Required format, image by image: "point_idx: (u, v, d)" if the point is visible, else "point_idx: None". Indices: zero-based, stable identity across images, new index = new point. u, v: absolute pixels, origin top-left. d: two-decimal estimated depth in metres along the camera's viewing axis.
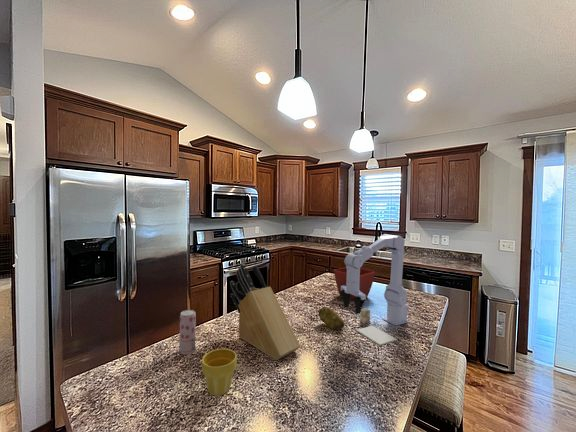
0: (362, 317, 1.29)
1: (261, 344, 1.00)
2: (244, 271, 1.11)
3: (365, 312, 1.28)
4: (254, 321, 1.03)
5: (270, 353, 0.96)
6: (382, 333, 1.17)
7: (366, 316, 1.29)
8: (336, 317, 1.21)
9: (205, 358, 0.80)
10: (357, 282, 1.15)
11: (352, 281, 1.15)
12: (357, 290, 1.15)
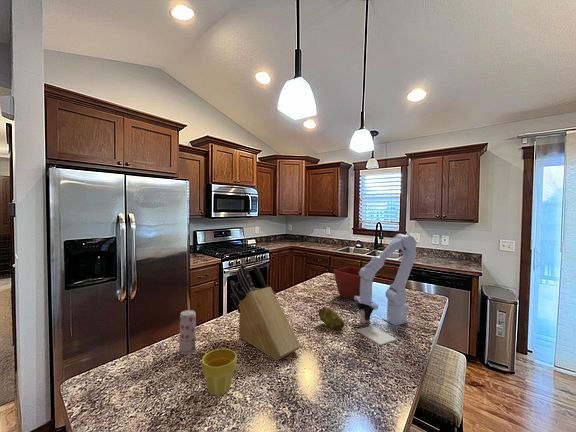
0: (362, 317, 1.29)
1: (261, 344, 1.00)
2: (244, 271, 1.11)
3: None
4: (255, 321, 1.03)
5: (270, 353, 0.96)
6: (382, 333, 1.17)
7: None
8: (336, 317, 1.21)
9: (205, 358, 0.80)
10: (370, 293, 1.27)
11: (363, 292, 1.27)
12: (370, 300, 1.27)
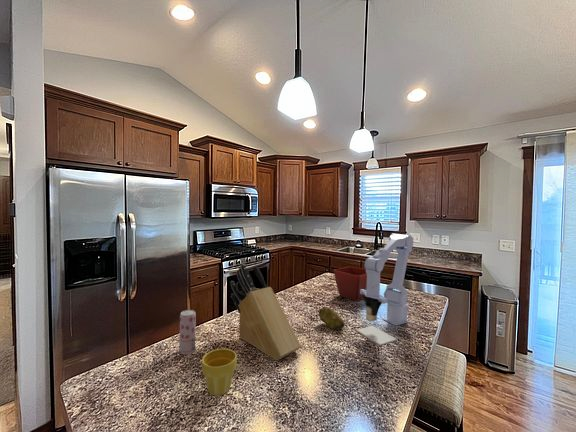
0: (368, 315, 1.17)
1: (261, 344, 1.00)
2: (244, 271, 1.11)
3: (371, 309, 1.17)
4: (255, 321, 1.02)
5: (270, 353, 0.96)
6: (382, 333, 1.17)
7: None
8: (336, 317, 1.21)
9: (205, 358, 0.80)
10: (378, 286, 1.16)
11: (374, 285, 1.15)
12: (377, 294, 1.16)
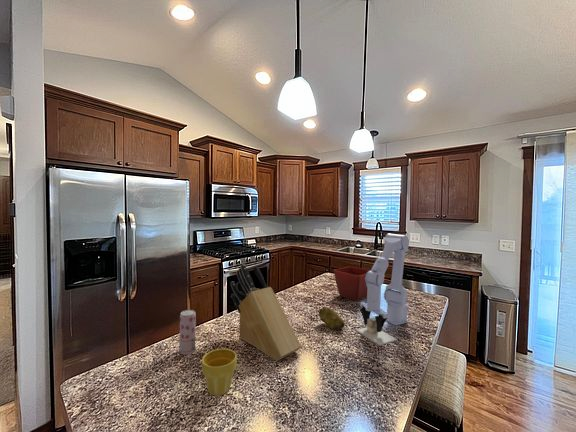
0: (369, 328, 1.16)
1: (262, 345, 0.99)
2: (245, 271, 1.11)
3: (372, 322, 1.15)
4: (255, 321, 1.02)
5: (271, 353, 0.96)
6: (382, 333, 1.17)
7: (373, 326, 1.16)
8: (336, 317, 1.21)
9: (205, 358, 0.80)
10: (378, 300, 1.14)
11: (375, 299, 1.14)
12: (378, 308, 1.15)
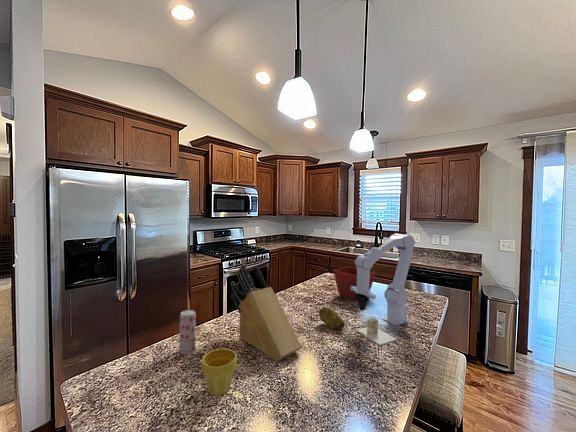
0: (369, 328, 1.16)
1: (262, 345, 0.99)
2: (245, 271, 1.11)
3: (372, 322, 1.15)
4: (255, 321, 1.02)
5: (271, 354, 0.96)
6: (382, 333, 1.17)
7: (373, 326, 1.16)
8: (336, 317, 1.21)
9: (205, 358, 0.80)
10: (367, 283, 1.21)
11: (362, 282, 1.20)
12: (367, 290, 1.21)
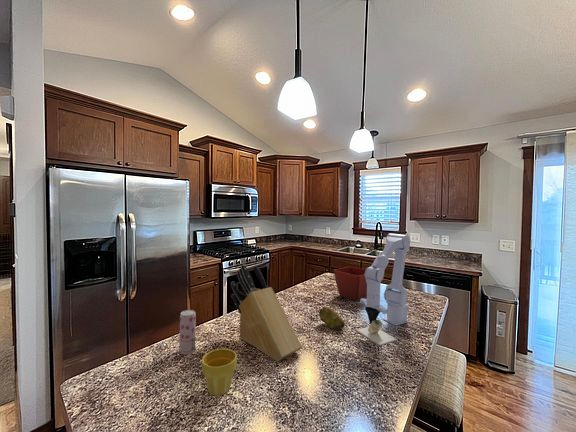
0: (371, 328, 1.15)
1: (262, 345, 0.99)
2: (245, 271, 1.10)
3: (377, 326, 1.13)
4: (255, 322, 1.02)
5: (271, 354, 0.95)
6: (382, 333, 1.17)
7: (376, 329, 1.15)
8: (336, 317, 1.21)
9: (205, 358, 0.80)
10: (378, 296, 1.15)
11: (374, 295, 1.14)
12: (378, 304, 1.15)
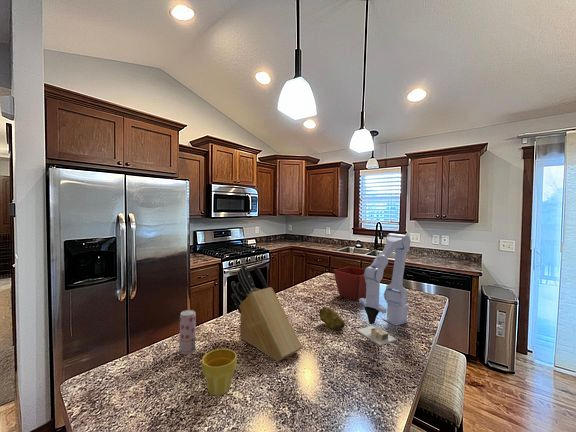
0: (375, 334, 1.13)
1: (263, 345, 0.99)
2: (245, 272, 1.10)
3: None
4: (256, 322, 1.02)
5: (272, 354, 0.95)
6: None
7: None
8: (336, 317, 1.21)
9: (205, 358, 0.80)
10: (377, 295, 1.15)
11: (374, 294, 1.15)
12: (377, 303, 1.15)
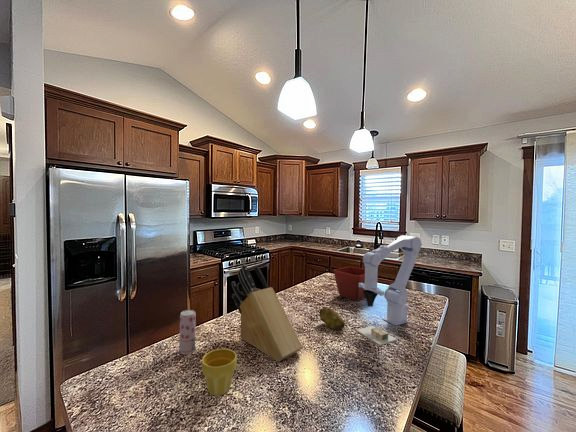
0: (375, 334, 1.13)
1: (263, 345, 0.99)
2: (246, 272, 1.10)
3: None
4: (256, 322, 1.02)
5: (272, 354, 0.95)
6: None
7: None
8: (336, 317, 1.21)
9: (205, 358, 0.80)
10: (375, 279, 1.21)
11: (370, 278, 1.21)
12: (375, 287, 1.22)
